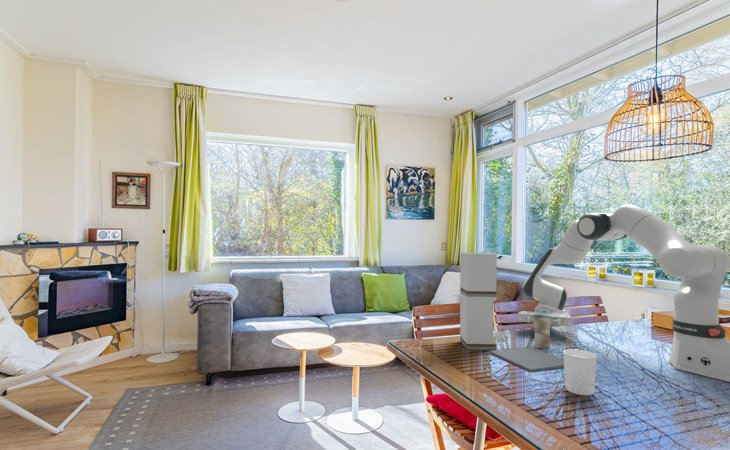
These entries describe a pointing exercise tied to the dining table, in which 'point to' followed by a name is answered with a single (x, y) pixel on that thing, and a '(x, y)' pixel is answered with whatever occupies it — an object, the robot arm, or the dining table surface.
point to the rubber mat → (530, 358)
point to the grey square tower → (477, 299)
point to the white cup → (580, 371)
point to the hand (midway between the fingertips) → (543, 321)
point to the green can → (542, 330)
